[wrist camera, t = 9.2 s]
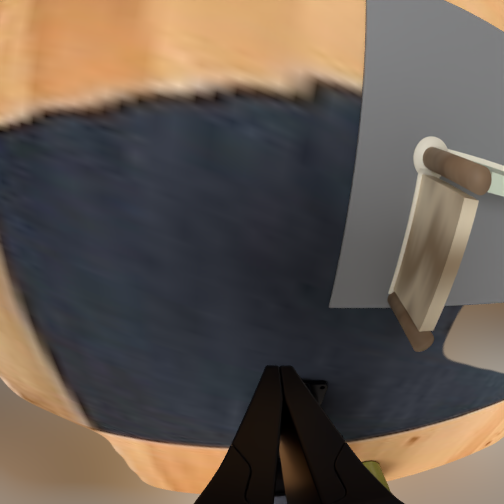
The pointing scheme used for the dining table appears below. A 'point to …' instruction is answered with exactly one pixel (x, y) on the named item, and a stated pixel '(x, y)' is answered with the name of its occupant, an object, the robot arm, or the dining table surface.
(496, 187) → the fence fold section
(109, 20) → the dining table surface
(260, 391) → the robot arm
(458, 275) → the card
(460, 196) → the fence fixed section
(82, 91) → the dining table surface
